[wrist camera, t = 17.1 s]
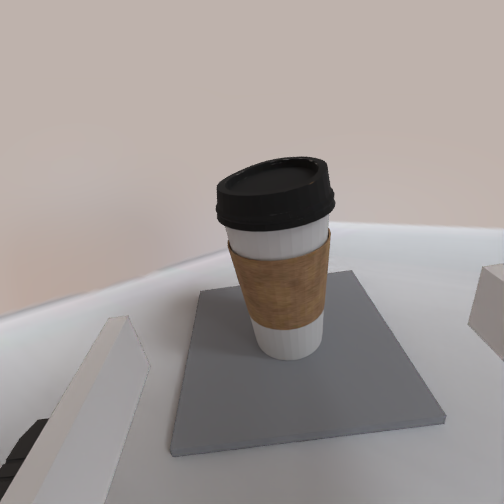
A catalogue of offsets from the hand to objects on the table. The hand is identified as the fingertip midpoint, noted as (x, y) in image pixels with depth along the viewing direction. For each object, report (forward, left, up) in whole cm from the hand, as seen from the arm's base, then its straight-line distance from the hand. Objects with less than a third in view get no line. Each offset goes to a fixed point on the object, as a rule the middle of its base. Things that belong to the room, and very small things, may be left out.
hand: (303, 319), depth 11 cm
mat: (0, -12, -13) cm, 17 cm away
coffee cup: (0, -11, -12) cm, 17 cm away
